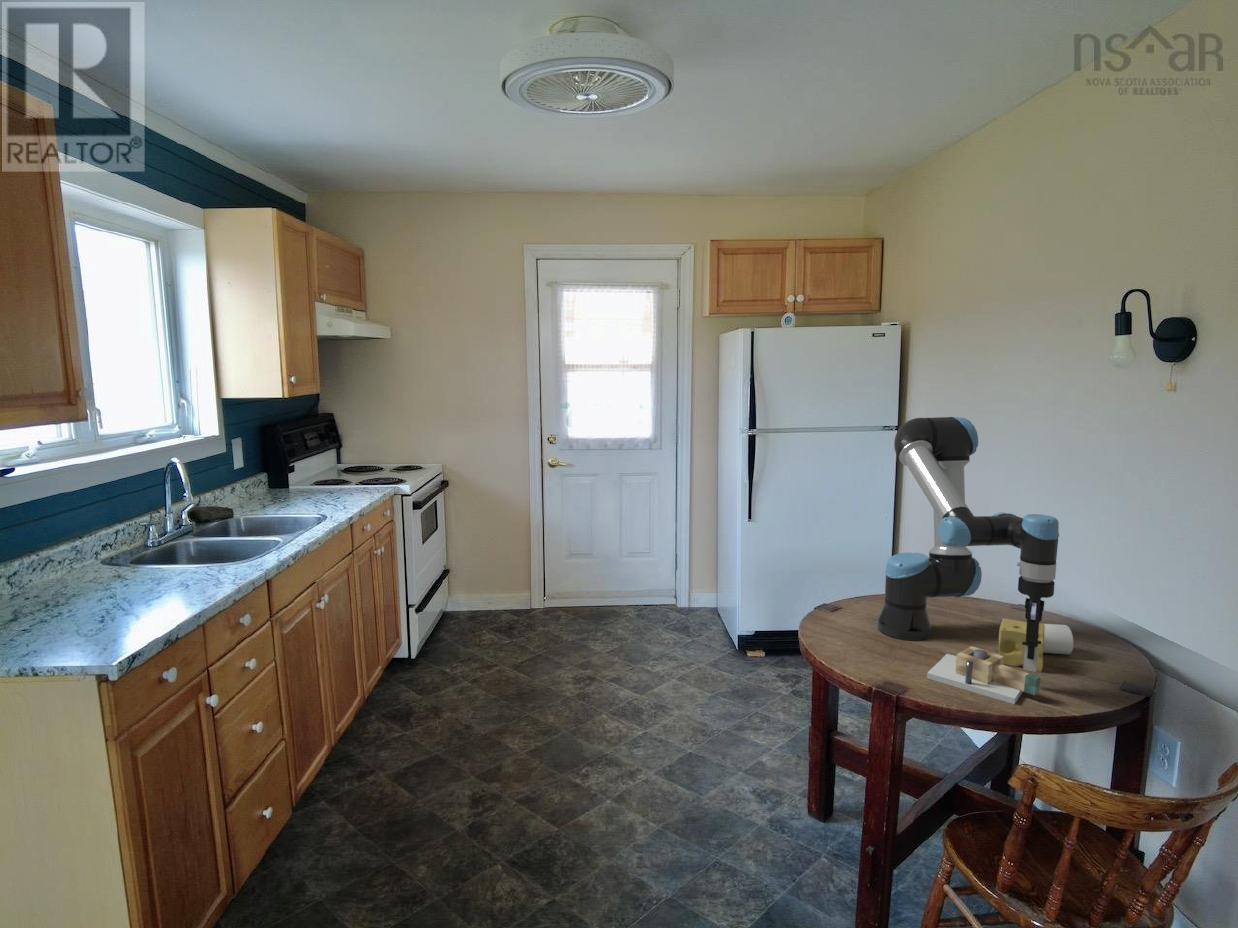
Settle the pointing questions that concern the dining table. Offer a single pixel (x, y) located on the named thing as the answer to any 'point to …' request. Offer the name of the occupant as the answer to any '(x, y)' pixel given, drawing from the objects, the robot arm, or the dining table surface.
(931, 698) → the dining table surface
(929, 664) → the dining table surface
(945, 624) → the dining table surface
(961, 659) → the wooden frame with handle
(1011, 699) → the base
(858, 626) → the dining table surface
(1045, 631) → the mug
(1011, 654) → the cheese
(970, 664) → the dowel
